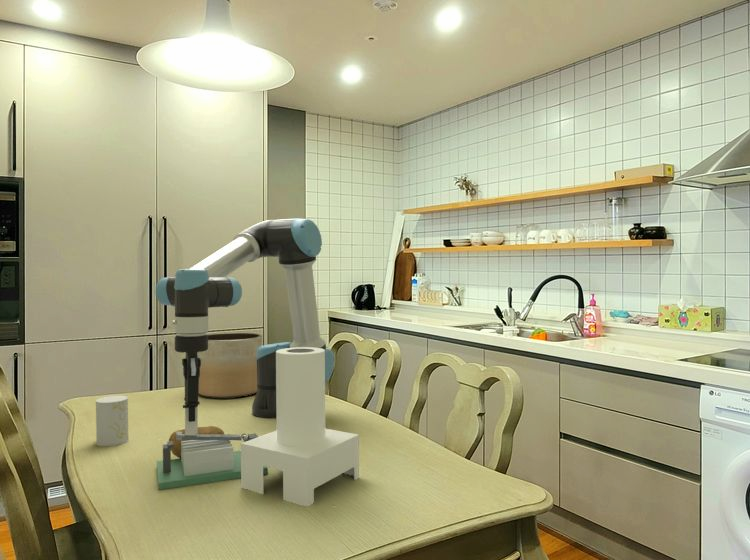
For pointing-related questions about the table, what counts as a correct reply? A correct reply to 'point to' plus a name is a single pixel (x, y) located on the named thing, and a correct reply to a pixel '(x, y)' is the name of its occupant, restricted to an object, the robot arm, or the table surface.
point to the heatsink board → (199, 478)
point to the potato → (177, 443)
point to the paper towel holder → (300, 432)
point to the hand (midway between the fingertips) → (191, 433)
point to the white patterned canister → (112, 420)
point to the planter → (229, 365)
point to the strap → (210, 437)
